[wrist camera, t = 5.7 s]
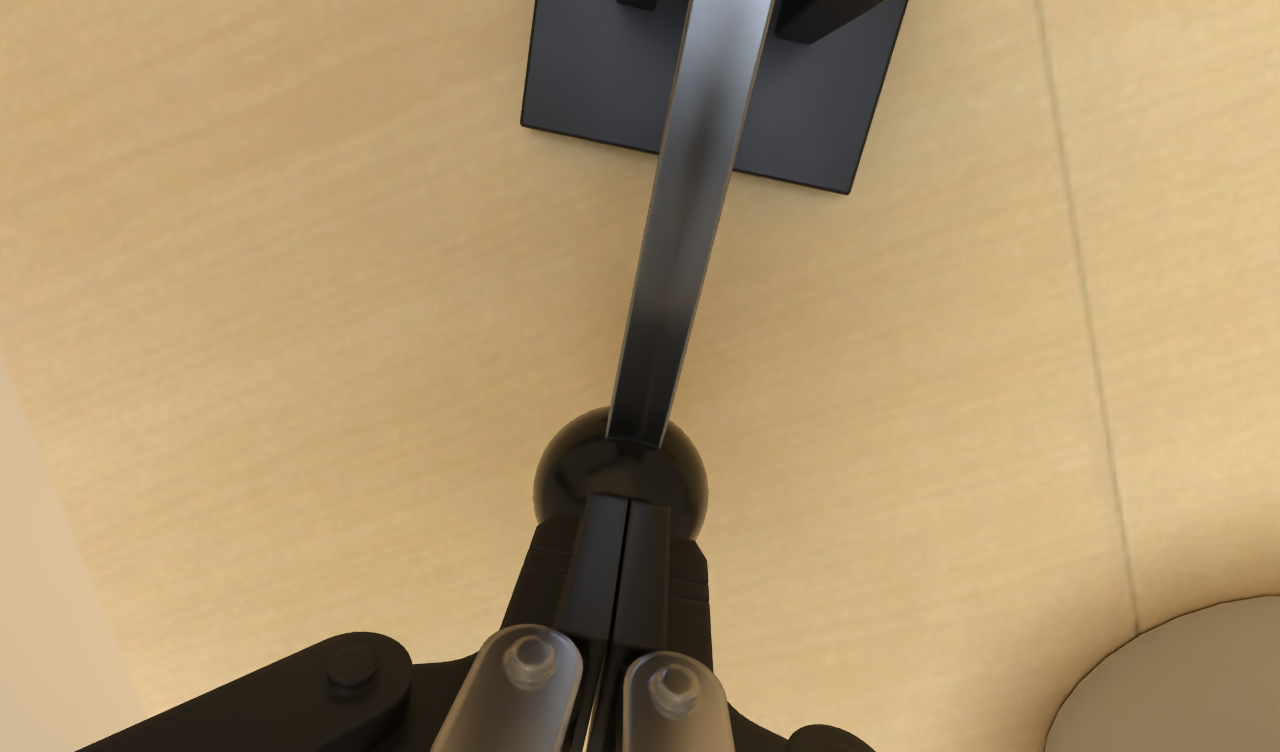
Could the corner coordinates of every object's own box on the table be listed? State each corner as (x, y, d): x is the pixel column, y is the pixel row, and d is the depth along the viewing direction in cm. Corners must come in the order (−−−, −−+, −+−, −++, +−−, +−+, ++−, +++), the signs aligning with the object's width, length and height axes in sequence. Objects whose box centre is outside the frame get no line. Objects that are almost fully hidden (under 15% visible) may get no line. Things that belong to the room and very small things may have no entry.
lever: (689, 512, 16) (684, 637, 13) (544, 483, 16) (506, 602, 13) (953, -364, 8) (1091, -556, 5) (673, -429, 8) (652, -657, 5)
